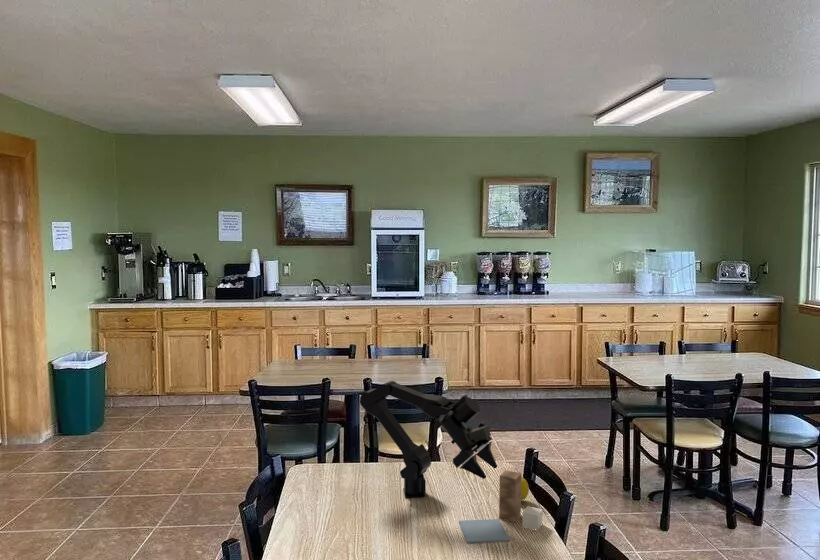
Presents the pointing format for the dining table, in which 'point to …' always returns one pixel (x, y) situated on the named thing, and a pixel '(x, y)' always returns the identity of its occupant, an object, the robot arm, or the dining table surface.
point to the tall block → (510, 496)
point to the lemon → (524, 488)
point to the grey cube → (532, 518)
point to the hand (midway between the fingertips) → (490, 472)
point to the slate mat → (483, 531)
